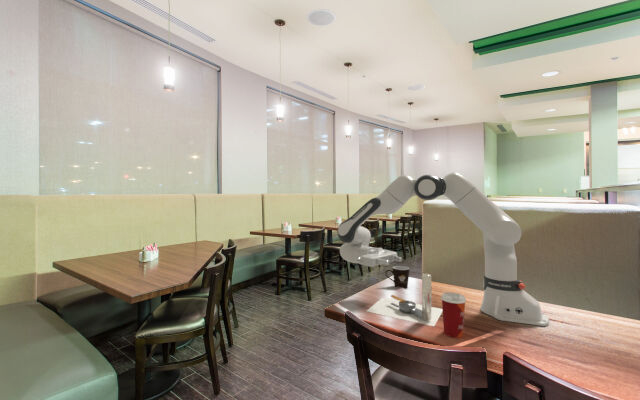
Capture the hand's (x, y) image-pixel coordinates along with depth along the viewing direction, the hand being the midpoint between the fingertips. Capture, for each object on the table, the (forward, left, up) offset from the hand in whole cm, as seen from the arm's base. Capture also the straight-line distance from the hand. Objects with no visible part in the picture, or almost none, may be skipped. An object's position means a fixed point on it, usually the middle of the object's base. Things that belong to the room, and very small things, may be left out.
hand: (394, 261), depth 123 cm
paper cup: (-25, +15, -20) cm, 35 cm away
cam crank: (-8, +5, -18) cm, 20 cm away
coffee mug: (+8, -30, -20) cm, 37 cm away
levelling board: (-6, +4, -20) cm, 21 cm away
